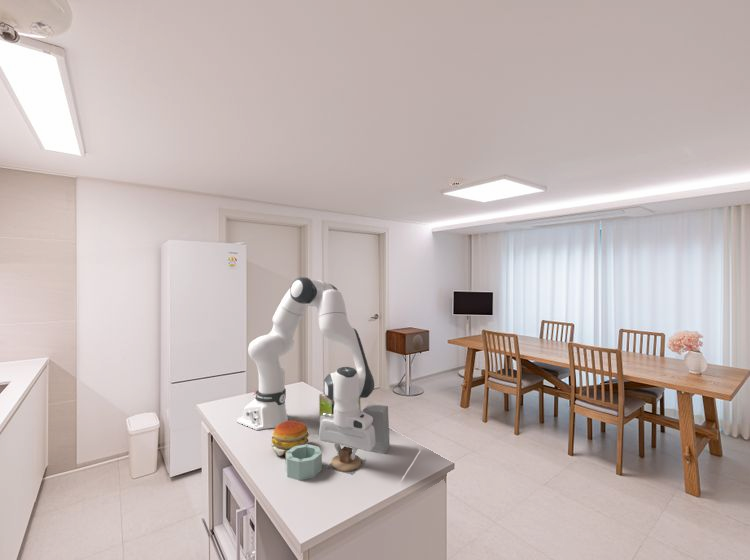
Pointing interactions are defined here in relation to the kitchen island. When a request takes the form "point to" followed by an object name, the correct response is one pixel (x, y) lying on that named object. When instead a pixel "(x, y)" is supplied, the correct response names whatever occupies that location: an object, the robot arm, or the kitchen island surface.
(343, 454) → the lid
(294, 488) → the kitchen island surface
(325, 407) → the tea box
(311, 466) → the bowl
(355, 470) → the mat
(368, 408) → the skincare box
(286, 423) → the burger
